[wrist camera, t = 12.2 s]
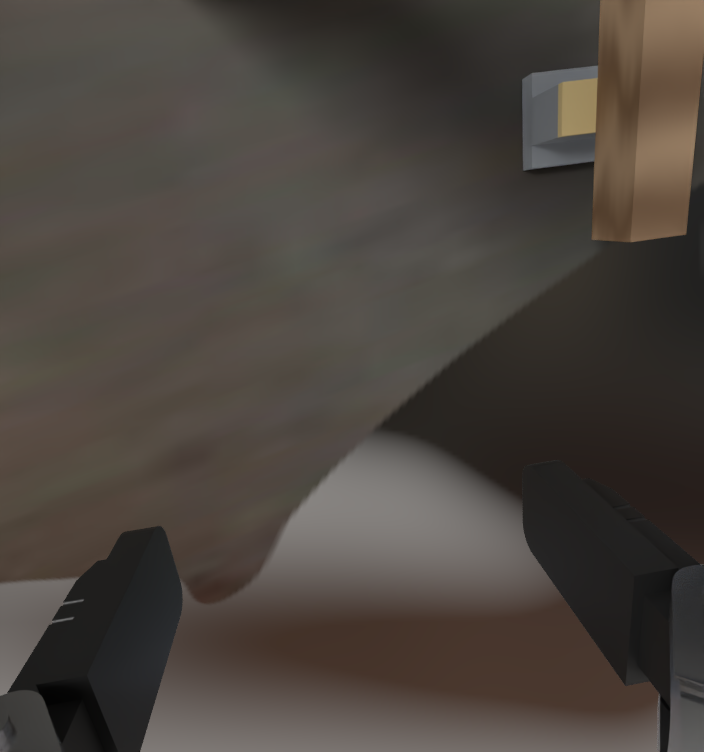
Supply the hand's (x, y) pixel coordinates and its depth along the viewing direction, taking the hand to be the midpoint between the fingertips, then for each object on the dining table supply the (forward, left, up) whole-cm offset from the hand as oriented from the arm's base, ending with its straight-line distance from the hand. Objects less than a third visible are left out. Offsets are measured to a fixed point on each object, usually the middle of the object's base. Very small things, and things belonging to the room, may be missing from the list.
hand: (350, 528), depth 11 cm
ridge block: (-11, +21, -28) cm, 37 cm away
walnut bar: (-11, +21, -23) cm, 33 cm away
